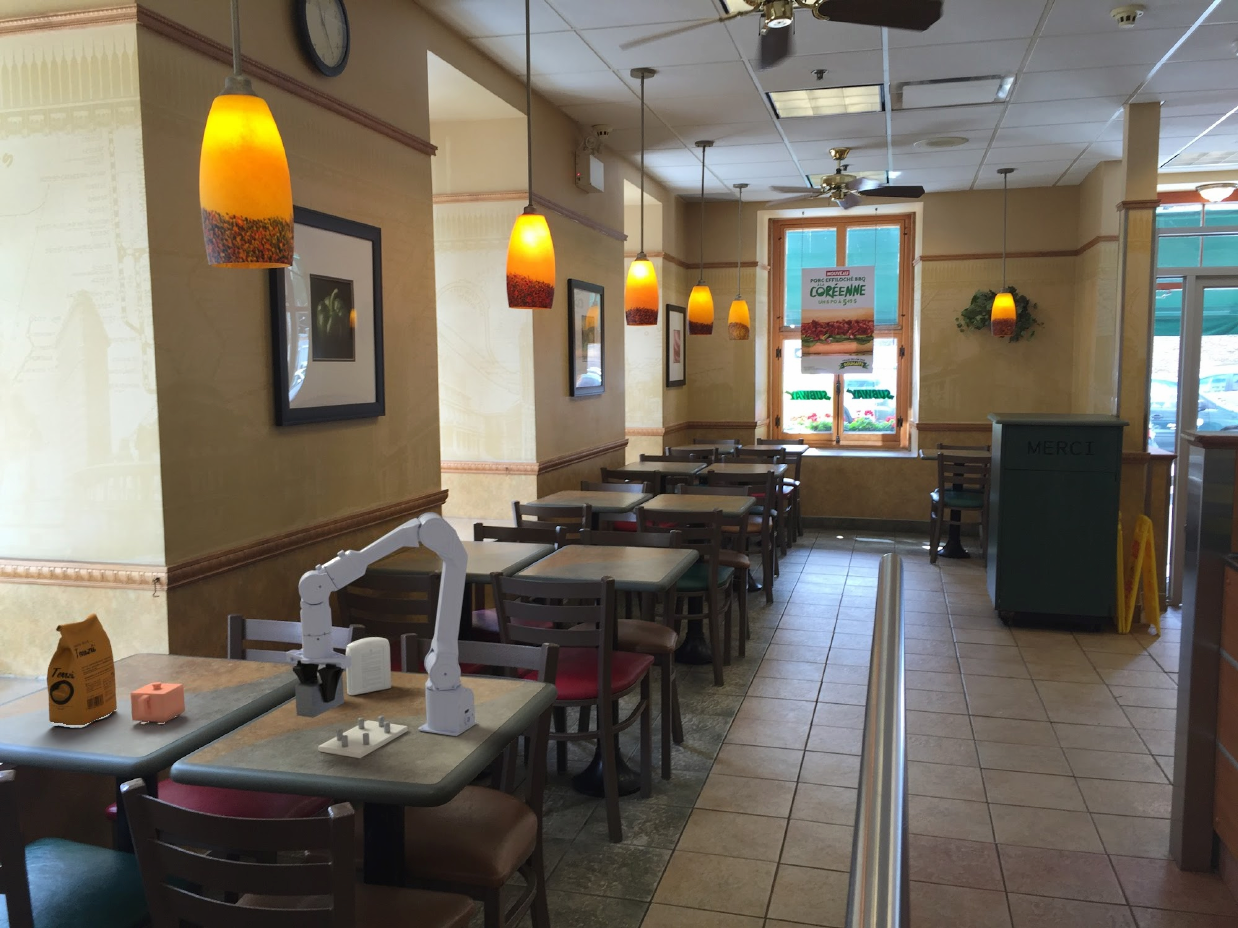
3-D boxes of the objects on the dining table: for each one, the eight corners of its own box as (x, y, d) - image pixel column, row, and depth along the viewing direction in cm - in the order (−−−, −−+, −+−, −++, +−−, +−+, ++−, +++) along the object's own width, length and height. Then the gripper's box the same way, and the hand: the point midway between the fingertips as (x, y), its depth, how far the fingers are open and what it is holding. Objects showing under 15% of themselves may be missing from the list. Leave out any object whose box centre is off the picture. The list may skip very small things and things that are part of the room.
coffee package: (41, 728, 202) (33, 626, 200) (86, 708, 214) (79, 611, 212) (81, 731, 200) (73, 627, 198) (124, 710, 212) (117, 613, 210)
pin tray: (407, 730, 195) (406, 716, 195) (360, 758, 182) (359, 742, 181) (367, 724, 199) (367, 710, 199) (318, 751, 186) (317, 735, 185)
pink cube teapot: (194, 710, 211) (192, 673, 210) (159, 730, 199) (157, 691, 199) (162, 709, 212) (159, 672, 212) (125, 728, 201) (123, 690, 200)
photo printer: (387, 683, 226) (385, 632, 225) (394, 688, 223) (391, 636, 222) (344, 692, 221) (342, 640, 220) (350, 697, 217) (348, 644, 216)
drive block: (344, 702, 192) (342, 673, 192) (312, 717, 184) (311, 687, 184) (328, 700, 194) (326, 671, 193) (296, 715, 186) (295, 685, 185)
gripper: (273, 634, 187) (277, 702, 188) (332, 640, 181) (336, 710, 182) (299, 625, 193) (302, 690, 195) (356, 631, 188) (360, 698, 189)
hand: (320, 699), depth 189 cm, fingers closed on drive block, 4 cm apart
